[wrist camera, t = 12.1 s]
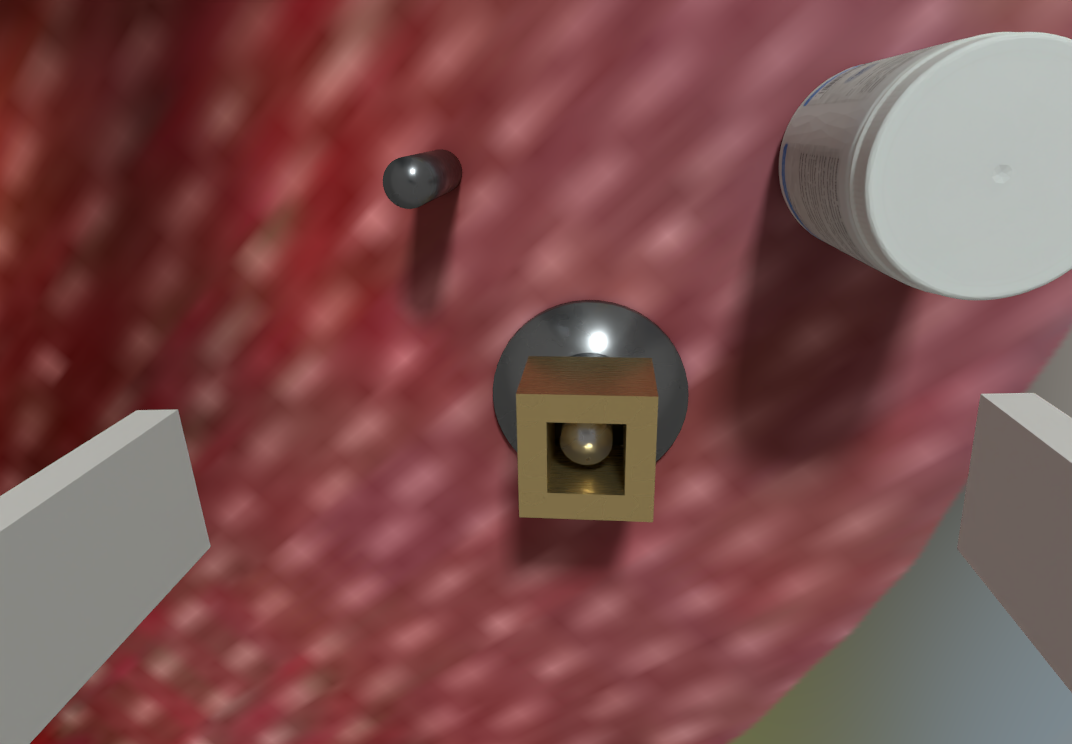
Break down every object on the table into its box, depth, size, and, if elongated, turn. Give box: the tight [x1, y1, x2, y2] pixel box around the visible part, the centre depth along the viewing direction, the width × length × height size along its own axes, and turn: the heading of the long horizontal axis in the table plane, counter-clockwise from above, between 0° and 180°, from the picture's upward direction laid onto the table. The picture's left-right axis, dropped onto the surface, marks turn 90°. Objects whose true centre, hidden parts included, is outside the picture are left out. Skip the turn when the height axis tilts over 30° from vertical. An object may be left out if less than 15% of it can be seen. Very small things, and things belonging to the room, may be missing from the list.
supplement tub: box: [779, 32, 1072, 300], centre depth 33 cm, size 10×10×15 cm
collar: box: [516, 356, 658, 522], centre depth 40 cm, size 7×7×6 cm
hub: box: [493, 300, 688, 465], centre depth 42 cm, size 12×12×7 cm
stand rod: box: [383, 150, 462, 209], centre depth 38 cm, size 2×2×8 cm
